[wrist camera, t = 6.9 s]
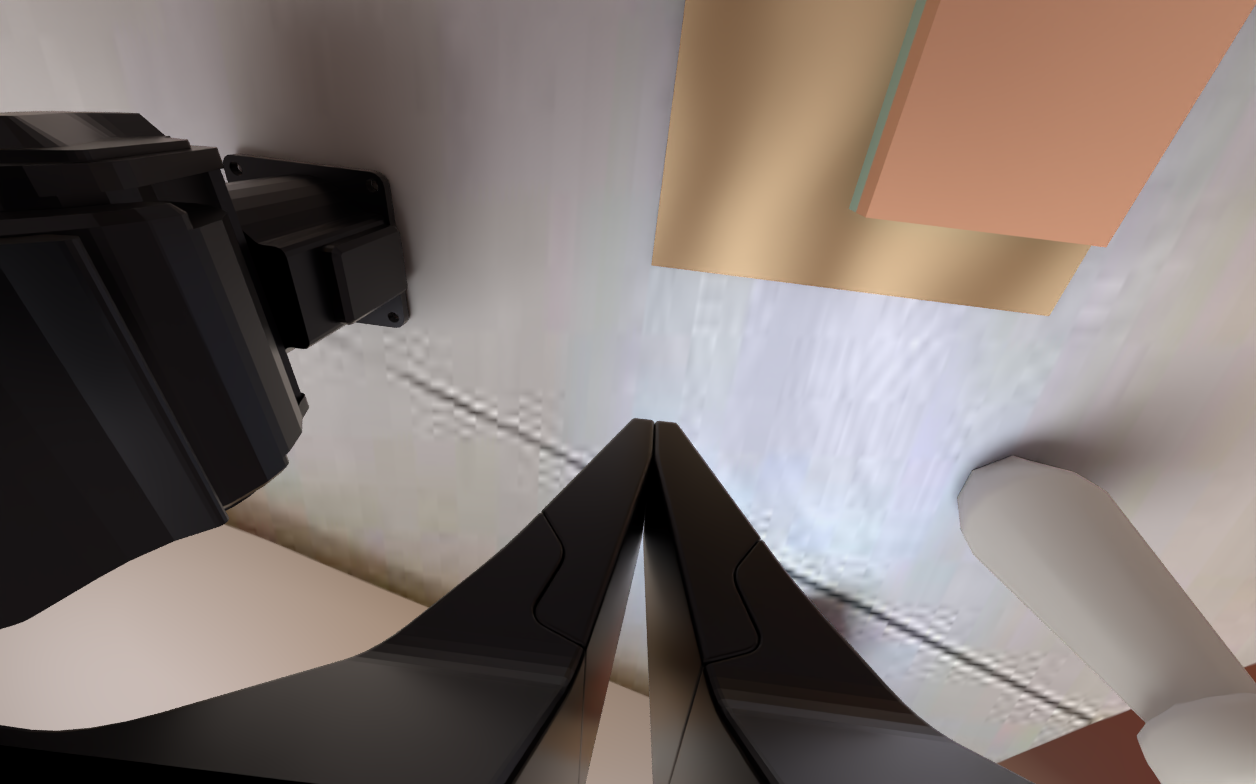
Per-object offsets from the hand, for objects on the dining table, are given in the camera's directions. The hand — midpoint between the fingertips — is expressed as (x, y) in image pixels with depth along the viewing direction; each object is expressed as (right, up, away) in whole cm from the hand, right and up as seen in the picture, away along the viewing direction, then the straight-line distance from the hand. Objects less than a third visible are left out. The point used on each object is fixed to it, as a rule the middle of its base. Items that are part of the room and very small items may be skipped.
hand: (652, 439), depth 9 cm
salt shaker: (+18, -4, +15) cm, 24 cm away
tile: (+8, +11, +6) cm, 15 cm away
